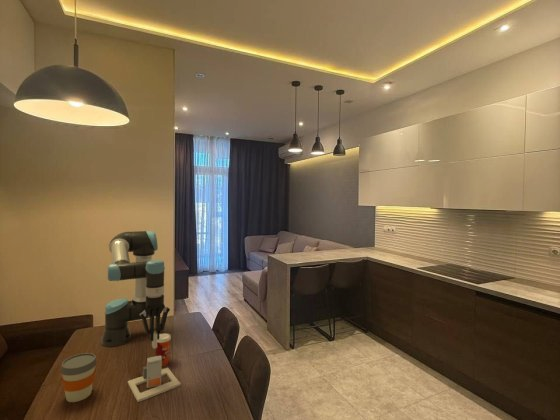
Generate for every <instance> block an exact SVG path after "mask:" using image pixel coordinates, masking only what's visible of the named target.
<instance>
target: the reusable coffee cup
mask: <svg viewBox="0 0 560 420" xmlns="http://www.w3.org/2000/svg"><path fill="white" fill-rule="evenodd" d="M96 365H97V357H96V354H94V353H90V352H83V353H77V354H75V355H71V356H70V357H67V358H66V359H64V360H63V361H62V362H61V366H60V367H61V368H60V374H61V383H62V389H63V391H64V393H65V394H64V395H65V401H67V402H68V403H76V402H80V401H83V400H85V399H87V398H89V396H91V394H92V391H93V384H94V382H95V378H96V372H97V371H96V370H97V369H96Z"/></svg>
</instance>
